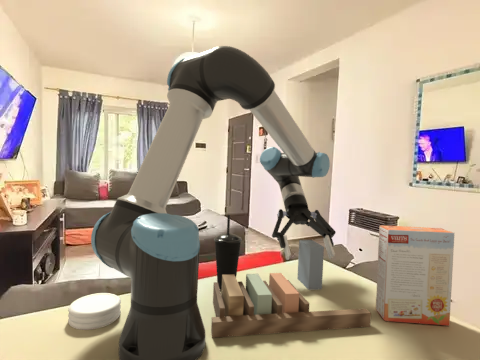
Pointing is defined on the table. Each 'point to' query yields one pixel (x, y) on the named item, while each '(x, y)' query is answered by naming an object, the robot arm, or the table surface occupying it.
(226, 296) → the oak offcut
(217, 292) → the rack
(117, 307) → the white disc stack
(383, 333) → the table surface
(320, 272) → the slate blue block
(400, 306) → the cracker box
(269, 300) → the sage offcut
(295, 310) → the terracotta offcut
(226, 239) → the drinking cup
